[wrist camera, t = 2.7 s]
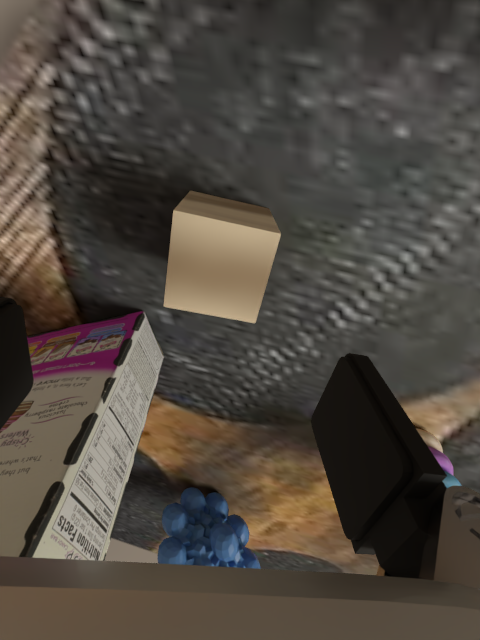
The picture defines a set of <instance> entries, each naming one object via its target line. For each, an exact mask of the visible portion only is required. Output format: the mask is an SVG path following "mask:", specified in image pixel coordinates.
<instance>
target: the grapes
mask: <svg viewBox="0 0 480 640" xmlns="http://www.w3.org/2000/svg"><path fill="white" fill-rule="evenodd" d="M180 502H181V504H178V503H173V504H170V505H167V507H166V508H165V509H164V511H163V515H162V524H163V529H164V530H165V532H166V533H167V534H168V535H169V538H166V539H164V540H163V542H162V543H161V544H160V546H159V550H158V563H159V564H178V565H198V566H218V567H238V568H256V569H260V564H259V561H258V558H257V556H256V555H255V554H254V553H253V552H252V551H251V550H250V549H248V548H246V547H245V545H246V544H247V542H248V540H249V530H248V526H247V524H246V522H245V521H244V520H243V519H242V518H241V517H240V516H238V515H235V514H234V515H231V516H228V512H229V509H228V505H227V502H226V500H225V498H224V497H223V496H222V495H221V494H219V493H216V492H213V493H210V494H208V495H207V496H206V498H204V495H203V494H202V492H201V491H200V490H199V489H197V488H194V487H190V488H187V489H185V490H184V491H183V493H182V494H181V500H180Z"/></svg>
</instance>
